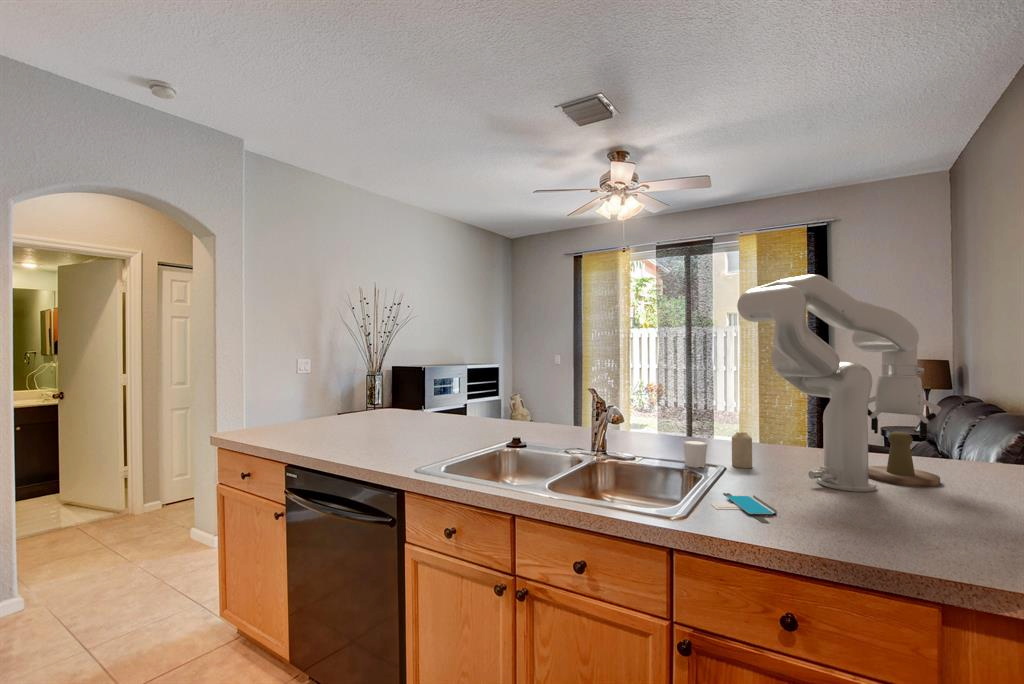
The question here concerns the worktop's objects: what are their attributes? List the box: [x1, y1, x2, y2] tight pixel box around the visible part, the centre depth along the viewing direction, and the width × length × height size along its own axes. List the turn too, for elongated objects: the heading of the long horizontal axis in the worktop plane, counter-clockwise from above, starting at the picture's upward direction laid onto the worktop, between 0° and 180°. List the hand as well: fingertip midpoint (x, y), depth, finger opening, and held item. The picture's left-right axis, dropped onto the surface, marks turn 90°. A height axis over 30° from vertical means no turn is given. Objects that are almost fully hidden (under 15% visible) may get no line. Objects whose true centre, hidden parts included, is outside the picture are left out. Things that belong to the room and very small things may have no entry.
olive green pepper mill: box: [886, 431, 915, 476], centre depth 132 cm, size 6×6×11 cm
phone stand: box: [710, 492, 778, 524], centre depth 110 cm, size 20×12×2 cm, turn 178°
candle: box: [731, 431, 753, 469], centre depth 147 cm, size 6×6×10 cm
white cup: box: [682, 440, 708, 469], centre depth 148 cm, size 7×7×7 cm
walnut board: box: [868, 465, 941, 488], centre depth 132 cm, size 16×16×2 cm
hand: (898, 435), depth 132 cm, fingers open, 9 cm apart
